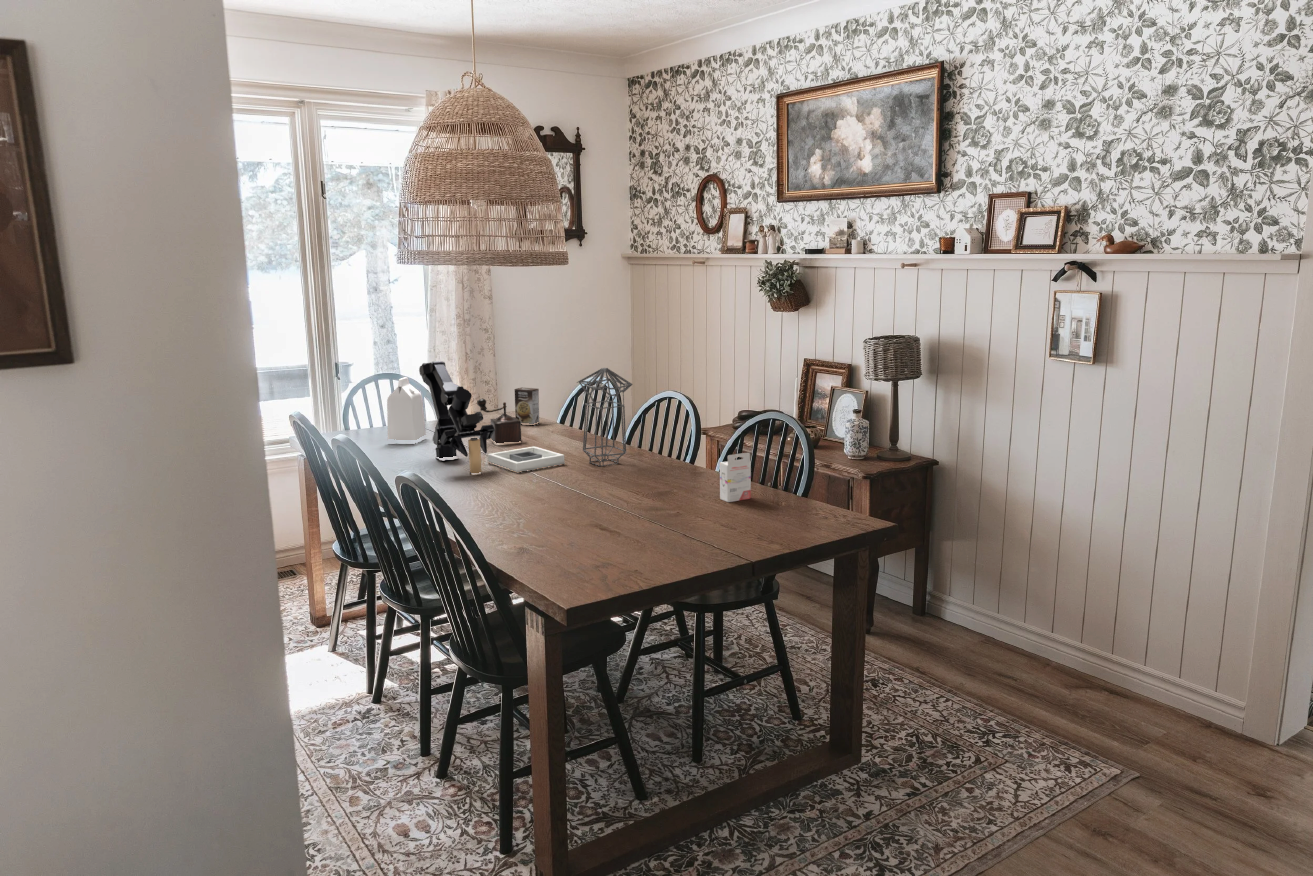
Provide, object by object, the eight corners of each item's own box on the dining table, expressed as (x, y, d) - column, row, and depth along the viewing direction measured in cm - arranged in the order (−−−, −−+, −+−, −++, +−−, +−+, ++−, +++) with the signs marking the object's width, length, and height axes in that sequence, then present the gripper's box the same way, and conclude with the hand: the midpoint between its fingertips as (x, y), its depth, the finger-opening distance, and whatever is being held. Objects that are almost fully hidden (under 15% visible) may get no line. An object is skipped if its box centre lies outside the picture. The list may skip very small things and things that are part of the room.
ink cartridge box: (742, 495, 285) (742, 449, 282) (751, 499, 280) (751, 452, 277) (719, 498, 281) (719, 452, 278) (727, 502, 276) (727, 455, 273)
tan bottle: (478, 471, 318) (476, 436, 315) (483, 473, 315) (482, 438, 312) (467, 473, 316) (466, 438, 313) (473, 475, 312) (471, 440, 310)
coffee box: (515, 424, 404) (513, 389, 401) (522, 422, 410) (521, 386, 407) (533, 426, 401) (531, 390, 397) (540, 423, 406) (539, 387, 403)
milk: (400, 438, 377) (395, 376, 372) (426, 438, 376) (422, 376, 370) (387, 444, 366) (383, 380, 360) (415, 444, 364) (410, 380, 359)
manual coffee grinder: (515, 438, 374) (513, 395, 370) (522, 443, 364) (520, 399, 360) (477, 442, 368) (475, 398, 364) (483, 447, 358) (481, 402, 354)
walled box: (534, 455, 343) (534, 446, 342) (564, 464, 328) (564, 454, 327) (487, 463, 330) (487, 454, 330) (516, 473, 315) (516, 463, 315)
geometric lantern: (611, 456, 340) (612, 363, 332) (634, 465, 327) (635, 369, 319) (574, 461, 331) (574, 366, 324) (595, 471, 318) (596, 372, 311)
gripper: (442, 407, 308) (458, 444, 302) (491, 401, 319) (508, 437, 313) (433, 427, 316) (449, 463, 309) (482, 420, 327) (498, 455, 320)
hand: (476, 454), depth 313 cm, fingers open, 7 cm apart
